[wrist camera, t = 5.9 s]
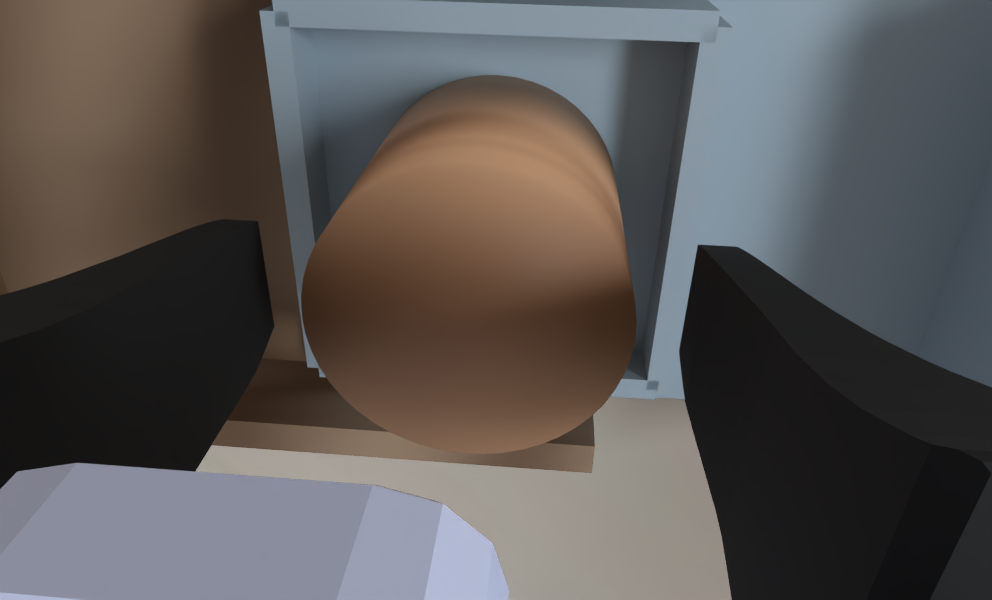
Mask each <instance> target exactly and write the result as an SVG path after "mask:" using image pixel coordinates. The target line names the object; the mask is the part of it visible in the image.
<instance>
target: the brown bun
mask: <svg viewBox="0 0 992 600" xmlns="http://www.w3.org/2000/svg"><path fill="white" fill-rule="evenodd" d="M301 309H302V319H303V324H304V329H305V334H306V337H307V340H308V343H309V346H310V348H311V351H312V353H313V355H314V357H315V359H316V361H317V363H318V365H319V367H320V369H321V370H322V372H323V373H324V375H325V376H326V378H327V379H328V381H329V382H330V383H331V385H332V386H333V387H334V388H335V389H336V390H337V392H338V393H339V394H340V395H341V396H342V397H343V398H344V399H345V400H346V401H347V402H348V403H349V404H350V405H351V406H352V407H354V408H355V409H356V410H357V411H358V412H360V413H361V414H362V415H364V416H365V417H366V418H368V419H369V420H370V421H372V422H373V423H375V424H377V425H378V426H380V427H382V428H384V429H385V430H387V431H389V432H391V433H393V434H395V435H397V436H399V437H402V438H404V439H406V440H409V441H411V442H414V443H417V444H420V445H423V446H426V447H431V448H435V449H439V450H443V451H450V452H457V453H466V454H494V453H505V452H511V451H517V450H523V449H526V448H530V447H533V446H537V445H541V444H543V443H546V442H548V441H550V440H553V439H555V438H558V437H560V436H562V435H563V434H565V433H567V432H569V431H571V430H573V429H574V428H576V427H577V426H579V425H580V424H581V423H583V422H584V421H586V420H587V419H588V418H590V417H591V416H592V415H593V414H594V413H595V412H596V411H597V410H598V409H599V408H600V407H602V406H603V404H604V403H605V402H606V401H607V400H608V398H609V397H610V396H611V395H612V393H613V392H614V391H615V389H616V388H617V386H618V384H619V383H620V381H621V379H622V378H623V376H624V374H625V371H626V369H627V367H628V364H629V362H630V359H631V356H632V352H633V348H634V343H635V337H636V325H637V319H636V305H635V298H634V291H633V285H632V279H631V272H630V266H629V260H628V253H627V247H626V241H625V235H624V228H623V222H622V216H621V209H620V203H619V197H618V190H617V184H616V178H615V173H614V168H613V164H612V160H611V157H610V155H609V152H608V150H607V147H606V145H605V143H604V141H603V139H602V138H601V136H600V134H599V132H598V131H597V129H596V128H595V127H594V125H593V124H592V123H591V121H590V120H589V119H588V118H587V117H586V116H585V115H584V114H583V113H582V112H581V111H580V110H579V109H578V108H577V107H576V106H575V105H574V104H572V103H571V102H570V101H568V100H567V99H566V98H565V97H563V96H561V95H560V94H558V93H556V92H554V91H553V90H551V89H549V88H547V87H545V86H542V85H540V84H537V83H535V82H532V81H528V80H524V79H521V78H517V77H509V76H501V75H482V76H475V77H468V78H463V79H460V80H456V81H453V82H449V83H447V84H445V85H443V86H440V87H438V88H436V89H434V90H432V91H431V92H429V93H427V94H426V95H424V96H423V97H421V98H420V99H418V100H417V101H416V102H415V103H414V104H412V105H411V106H410V107H409V108H408V109H407V110H406V111H405V112H404V113H403V115H402V116H401V117H400V118H399V119H398V120H397V122H396V123H395V125H394V126H393V128H392V129H391V131H390V132H389V134H388V135H387V137H386V138H385V140H384V141H383V143H382V144H381V146H380V147H379V149H378V150H377V152H376V153H375V155H374V156H373V158H372V159H371V161H370V162H369V164H368V165H367V167H366V168H365V170H364V171H363V173H362V174H361V176H360V177H359V179H358V180H357V182H356V183H355V185H354V186H353V188H352V189H351V191H350V192H349V194H348V195H347V197H346V198H345V200H344V201H343V203H342V204H341V206H340V207H339V209H338V210H337V212H336V213H335V215H334V216H333V218H332V219H331V221H330V222H329V224H328V225H327V227H326V228H325V230H324V231H323V233H322V234H321V236H320V237H319V239H318V240H317V242H316V244H315V246H314V248H313V250H312V252H311V255H310V257H309V259H308V262H307V266H306V269H305V273H304V277H303V283H302V292H301Z"/></svg>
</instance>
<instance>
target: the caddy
mask: <svg viewBox="0 0 992 600" xmlns="http://www.w3.org/2000/svg"><path fill="white" fill-rule="evenodd" d="M271 5H273V3H272V0H0V295H3V294H7V293H10V292H14V291H18V290H21V289H25V288H28V287H31V286H35V285H38V284H41V283H44V282H48V281H51V280H54V279H57V278H60V277H63V276H65V275H68V274H71V273H74V272H76V271H79V270H82V269H85V268H87V267H90V266H93V265H96V264H98V263H101V262H104V261H107V260H110V259H112V258H115V257H118V256H120V255H123V254H125V253H128V252H130V251H133V250H135V249H138V248H141V247H143V246H146V245H148V244H151V243H153V242H156V241H158V240H161V239H163V238H166V237H168V236H171V235H174V234H176V233H179V232H181V231H184V230H187V229H190V228H192V227H195V226H198V225H201V224H204V223H208V222H211V221H216V220H221V219H229V220H247V221H258V224H259V230H260V237H261V243H262V249H263V256H264V262H265V269H266V275H267V281H268V288H269V294H270V301H271V307H272V313H273V320H274V329H273V331H272V334H271V336H270V339H269V342H268V344H267V347H266V349H265V352H264V354H263V357H262V359H261V361H260V364H259V366H258V368H257V371H256V373H255V374H254V376H253V378H252V380H251V381H250V383H249V385H248V386H247V388H246V390H245V391H244V393H243V395H242V396H241V398H240V400H239V401H238V403H237V405H236V406H235V408H234V410H233V411H232V413H231V414H230V416H229V418H228V419H227V421H226V422H225V424H224V426H223V427H222V429H221V430H220V432H219V434H218V435H217V437H216V439H215V440H214V442H213V443H212V445H217V446H231V447H245V448H258V449H272V450H286V451H299V452H313V453H326V454H340V455H354V456H367V457H381V458H395V459H408V460H422V461H435V462H449V463H463V464H476V465H490V466H503V467H517V468H531V469H544V470H558V471H572V472H585V473H592V464H593V456H594V447H595V445H594V425H593V415H592V416H591V417H590V418H588V419H587V420H586V421H584V422H583V423H581V424H580V425H579V426H577V427H576V428H574V429H573V430H571V431H569V432H567V433H565V434H563V435H562V436H560V437H558V438H555V439H553V440H550V441H548V442H546V443H543V444H541V445H537V446H533V447H530V448H526V449H523V450H517V451H511V452H505V453H494V454H466V453H457V452H450V451H443V450H439V449H435V448H431V447H426V446H423V445H420V444H417V443H414V442H411V441H409V440H406V439H404V438H402V437H399V436H397V435H395V434H393V433H391V432H389V431H387V430H385V429H384V428H382V427H380V426H378V425H377V424H375V423H373V422H372V421H370V420H369V419H368V418H366V417H365V416H364V415H362V414H361V413H360V412H358V411H357V410H356V409H355V408H354V407H352V406H351V405H350V404H349V403H348V402H347V401H346V400H345V399H344V398H343V397H342V396H341V395H340V394H339V393H338V392H337V390H336V389H335V388H334V387H333V386H332V385H331V383H330V382H329V381H328V379H327V378H326V377H320V376H319V368H310V367H307V360H306V352H305V345H304V338H303V330H302V323H301V315H300V308H299V301H298V293H297V286H296V278H295V271H294V264H293V256H292V249H291V242H290V234H289V227H288V219H287V212H286V205H285V197H284V190H283V182H282V175H281V168H280V160H279V153H278V146H277V138H276V131H275V123H274V116H273V109H272V101H271V94H270V86H269V79H268V72H267V64H266V57H265V50H264V42H263V35H262V27H261V20H260V13H259V11H260V10H262V9H264V8H266V7H269V6H271Z"/></svg>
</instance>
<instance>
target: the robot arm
mask: <svg viewBox="0 0 992 600" xmlns="http://www.w3.org/2000/svg"><path fill="white" fill-rule="evenodd" d="M273 329H274V320H273V313H272V307H271V301H270V294H269V288H268V281H267V275H266V269H265V262H264V256H263V249H262V243H261V237H260V230H259V224H258V221H247V220H229V219H221V220H216V221H211V222H208V223H204V224H201V225H198V226H195V227H192V228H190V229H187V230H184V231H181V232H179V233H176V234H174V235H171V236H168V237H166V238H163V239H161V240H158V241H156V242H153V243H151V244H148V245H146V246H143V247H141V248H138V249H135V250H133V251H130V252H128V253H125V254H123V255H120V256H118V257H115V258H112V259H110V260H107V261H104V262H101V263H98V264H96V265H93V266H90V267H87V268H85V269H82V270H79V271H76V272H74V273H71V274H68V275H65V276H63V277H60V278H57V279H54V280H51V281H48V282H44V283H41V284H38V285H35V286H31V287H28V288H25V289H21V290H18V291H14V292H10V293H7V294H3V295H0V600H508V597H509V589H508V586H507V583H506V580H505V577H504V574H503V572H502V569H501V566H500V563H499V560H498V557H497V554H496V551H495V548H494V546H493V543H492V542H490V541H489V540H488V539H487V538H485V537H484V536H483V535H481V534H480V533H479V532H478V531H476V530H475V529H474V528H473V527H471V526H470V525H469V524H468V523H466V522H465V521H464V520H463V519H461V518H460V517H459V516H457V515H456V514H455V513H454V512H452V511H451V510H450V509H449V508H447V507H446V506H445V505H444V504H442V503H440V502H437V501H433V500H430V499H426V498H422V497H419V496H415V495H411V494H407V493H404V492H400V491H396V490H393V489H389V488H385V487H382V486H378V485H367V484H354V483H341V482H327V481H314V480H301V479H287V478H274V477H261V476H247V475H234V474H220V473H207V472H195V471H196V469H197V468H198V466H199V464H200V463H201V461H202V460H203V458H204V456H205V455H206V453H207V451H208V450H209V448H210V447H211V445H212V443H213V442H214V440H215V439H216V437H217V435H218V434H219V432H220V430H221V429H222V427H223V426H224V424H225V422H226V421H227V419H228V418H229V416H230V414H231V413H232V411H233V410H234V408H235V406H236V405H237V403H238V401H239V400H240V398H241V396H242V395H243V393H244V391H245V390H246V388H247V386H248V385H249V383H250V381H251V380H252V378H253V376H254V374H255V373H256V371H257V368H258V366H259V364H260V361H261V359H262V357H263V354H264V352H265V349H266V347H267V344H268V342H269V339H270V336H271V334H272V331H273ZM679 356H680V365H681V374H682V382H683V390H684V397H685V403H686V406H687V410H688V414H689V417H690V421H691V425H692V428H693V432H694V436H695V439H696V443H697V446H698V450H699V453H700V457H701V460H702V464H703V467H704V471H705V474H706V478H707V481H708V485H709V488H710V492H711V495H712V499H713V502H714V506H715V509H716V513H717V518H718V522H719V526H720V531H721V535H722V540H723V546H724V553H725V559H726V565H727V571H728V578H729V584H730V590H731V597H732V600H992V387H989V386H987V385H984V384H982V383H979V382H977V381H974V380H972V379H969V378H967V377H964V376H962V375H959V374H956V373H954V372H951V371H949V370H947V369H944V368H942V367H940V366H938V365H935V364H933V363H931V362H928V361H926V360H924V359H922V358H920V357H918V356H916V355H914V354H912V353H910V352H908V351H906V350H904V349H902V348H900V347H897V346H895V345H893V344H891V343H889V342H887V341H885V340H883V339H882V338H880V337H878V336H876V335H874V334H872V333H870V332H869V331H867V330H865V329H863V328H862V327H860V326H858V325H857V324H855V323H853V322H852V321H850V320H848V319H847V318H845V317H843V316H842V315H840V314H838V313H837V312H835V311H833V310H832V309H830V308H829V307H827V306H826V305H824V304H823V303H821V302H819V301H818V300H816V299H815V298H813V297H812V296H810V295H809V294H807V293H806V292H805V291H803V290H802V289H800V288H799V287H797V286H796V285H794V284H793V283H791V282H790V281H789V280H787V279H786V278H784V277H783V276H782V275H780V274H779V273H777V272H776V271H774V270H773V269H772V268H770V267H769V266H767V265H766V264H764V263H763V262H762V261H760V260H759V259H757V258H756V257H754V256H753V255H751V254H749V253H748V252H746V251H744V250H743V249H741V248H739V247H735V246H716V245H698V247H697V252H696V258H695V263H694V269H693V275H692V280H691V286H690V292H689V297H688V303H687V309H686V314H685V320H684V326H683V331H682V337H681V342H680V348H679Z"/></svg>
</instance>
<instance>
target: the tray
mask: <svg viewBox="0 0 992 600" xmlns="http://www.w3.org/2000/svg"><path fill="white" fill-rule="evenodd" d="M272 3H273V5H271V6H269V7H266V8H264V9H262V10H260V11H259V13H260V20H261V27H262V35H263V42H264V50H265V57H266V64H267V72H268V79H269V86H270V94H271V101H272V109H273V116H274V123H275V131H276V138H277V146H278V153H279V160H280V168H281V175H282V182H283V190H284V197H285V205H286V212H287V219H288V227H289V234H290V242H291V249H292V256H293V264H294V271H295V278H296V286H297V293H298V301H299V308H300V315H301V323H302V330H303V338H304V345H305V352H306V360H307V367H310V368H319V376H320V377H326V376H325V375H324V373H323V372H322V370H321V369H320V367H319V365H318V363H317V361H316V359H315V357H314V355H313V353H312V351H311V348H310V346H309V343H308V340H307V337H306V334H305V329H304V324H303V319H302V309H301V292H302V283H303V277H304V273H305V269H306V266H307V262H308V259H309V257H310V255H311V252H312V250H313V248H314V246H315V244H316V242H317V240H318V239H319V237H320V236H321V234H322V233H323V231H324V230H325V228H326V227H327V225H328V224H329V222H330V221H331V219H332V218H333V216H334V215H335V213H336V212H337V210H338V209H339V207H340V206H341V204H342V203H343V201H344V200H345V198H346V197H347V195H348V194H349V192H350V191H351V189H352V188H353V186H354V185H355V183H356V182H357V180H358V179H359V177H360V176H361V174H362V173H363V171H364V170H365V168H366V167H367V165H368V164H369V162H370V161H371V159H372V158H373V156H374V155H375V153H376V152H377V150H378V149H379V147H380V146H381V144H382V143H383V141H384V140H385V138H386V137H387V135H388V134H389V132H390V131H391V129H392V128H393V126H394V125H395V123H396V122H397V120H398V119H399V118H400V117H401V116H402V115H403V113H404V112H405V111H406V110H407V109H408V108H409V107H410V106H411V105H412V104H414V103H415V102H416V101H417V100H418V99H420V98H421V97H423V96H424V95H426V94H427V93H429V92H431V91H432V90H434V89H436V88H438V87H440V86H443V85H445V84H447V83H449V82H453V81H456V80H460V79H463V78H468V77H475V76H482V75H501V76H509V77H517V78H521V79H524V80H528V81H532V82H535V83H537V84H540V85H542V86H545V87H547V88H549V89H551V90H553V91H554V92H556V93H558V94H560V95H561V96H563V97H565V98H566V99H567V100H568V101H570V102H571V103H572V104H574V105H575V106H576V107H577V108H578V109H579V110H580V111H581V112H582V113H583V114H584V115H585V116H586V117H587V118H588V119H589V120H590V121H591V123H592V124H593V125H594V127H595V128H596V129H597V131H598V132H599V134H600V136H601V138H602V139H603V141H604V143H605V145H606V147H607V150H608V152H609V155H610V157H611V160H612V164H613V168H614V173H615V178H616V184H617V190H618V197H619V203H620V209H621V216H622V222H623V228H624V235H625V241H626V247H627V253H628V260H629V266H630V272H631V279H632V285H633V291H634V298H635V305H636V319H637V325H636V337H635V343H634V348H633V352H632V356H631V359H630V362H629V364H628V367H627V369H626V371H625V374H624V376H623V378H622V379H621V381H620V383H619V384H618V386H617V388H616V389H615V391H614V392H613V393H612V395H611V396H610V397H624V398H639V399H654V400H656V397H658V398H673V399H685V397H684V390H683V382H682V374H681V365H680V356H679V348H680V342H681V337H682V331H683V326H684V320H685V314H686V309H687V303H688V297H689V292H690V286H691V280H692V275H693V269H694V263H695V258H696V252H697V247H698V245H716V246H735V247H739V248H741V249H743V250H744V251H746V252H748V253H749V254H751V255H753V256H754V257H756V258H757V259H759V260H760V261H762V262H763V263H764V264H766V265H767V266H769V267H770V268H772V269H773V270H774V271H776V272H777V273H779V274H780V275H782V276H783V277H784V278H786V279H787V280H789V281H790V282H791V283H793V284H794V285H796V286H797V287H799V288H800V289H802V290H803V291H805V292H806V293H807V294H809V295H810V296H812V297H813V298H815V299H816V300H818V301H819V302H821V303H823V304H824V305H826V306H827V307H829V308H830V309H832V310H833V311H835V312H837V313H838V314H840V315H842V316H843V317H845V318H847V319H848V320H850V321H852V322H853V323H855V324H857V325H858V326H860V327H862V328H863V329H865V330H867V331H869V332H870V333H872V334H874V335H876V336H878V337H880V338H882V339H883V340H885V341H887V342H889V343H891V344H893V345H895V346H897V347H900V348H902V349H904V350H906V351H908V352H910V353H912V354H914V355H916V356H918V357H920V358H922V359H924V360H926V361H928V362H931V363H933V364H935V365H938V366H940V367H942V368H944V369H947V370H949V371H951V372H954V373H956V374H959V375H962V376H964V377H967V378H969V379H972V380H974V381H977V382H979V383H982V384H984V385H987V386H989V387H992V0H272Z"/></svg>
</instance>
